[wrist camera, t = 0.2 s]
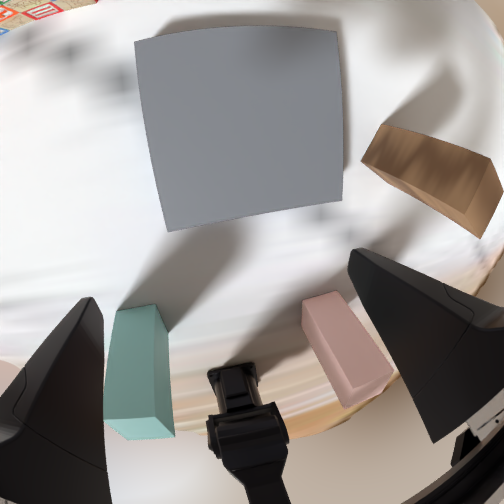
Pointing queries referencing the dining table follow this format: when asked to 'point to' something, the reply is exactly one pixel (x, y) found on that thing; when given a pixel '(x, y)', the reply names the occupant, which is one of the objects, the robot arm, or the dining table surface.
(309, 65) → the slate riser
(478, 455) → the robot arm
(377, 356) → the dusty pink block
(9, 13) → the stack of blocks
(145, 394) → the muted teal block
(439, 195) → the walnut block
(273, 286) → the dining table surface
